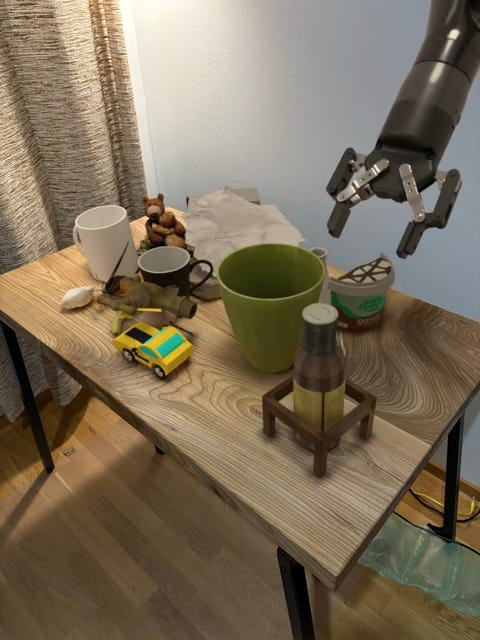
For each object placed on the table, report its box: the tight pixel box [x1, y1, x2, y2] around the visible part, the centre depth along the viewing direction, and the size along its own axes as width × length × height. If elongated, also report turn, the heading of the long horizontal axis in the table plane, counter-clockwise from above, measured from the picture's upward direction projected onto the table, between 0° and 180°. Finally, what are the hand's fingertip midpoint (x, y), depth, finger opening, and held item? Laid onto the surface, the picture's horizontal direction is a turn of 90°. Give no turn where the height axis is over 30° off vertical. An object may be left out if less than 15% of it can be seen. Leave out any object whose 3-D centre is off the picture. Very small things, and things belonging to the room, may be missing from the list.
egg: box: [141, 309, 177, 331], centre depth 88 cm, size 5×5×7 cm
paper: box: [179, 184, 307, 277], centre depth 100 cm, size 24×6×20 cm
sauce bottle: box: [292, 303, 347, 451], centre depth 64 cm, size 6×6×20 cm
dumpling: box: [59, 285, 97, 310], centre depth 96 cm, size 7×5×4 cm
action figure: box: [96, 273, 198, 320], centre depth 82 cm, size 15×4×15 cm
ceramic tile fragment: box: [190, 264, 222, 301], centre depth 99 cm, size 12×3×10 cm
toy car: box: [112, 308, 195, 380], centre depth 81 cm, size 12×8×8 cm, turn 53°
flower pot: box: [216, 243, 325, 374], centre depth 78 cm, size 15×15×16 cm
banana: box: [111, 311, 127, 336], centre depth 91 cm, size 8×2×4 cm
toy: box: [230, 187, 261, 205], centre depth 110 cm, size 10×8×15 cm
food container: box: [327, 252, 396, 333], centre depth 86 cm, size 12×6×10 cm, turn 126°
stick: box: [169, 321, 195, 337], centre depth 86 cm, size 6×1×2 cm
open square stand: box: [261, 374, 378, 480], centre depth 68 cm, size 10×10×7 cm
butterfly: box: [89, 241, 129, 313], centre depth 94 cm, size 12×10×10 cm
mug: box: [72, 204, 139, 283], centre depth 102 cm, size 10×12×12 cm
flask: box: [308, 246, 331, 305], centre depth 91 cm, size 7×7×10 cm
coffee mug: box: [138, 246, 213, 319], centre depth 91 cm, size 12×9×10 cm
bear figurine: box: [136, 192, 198, 264], centre depth 105 cm, size 14×15×12 cm
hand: (365, 245), depth 61 cm, fingers open, 8 cm apart
